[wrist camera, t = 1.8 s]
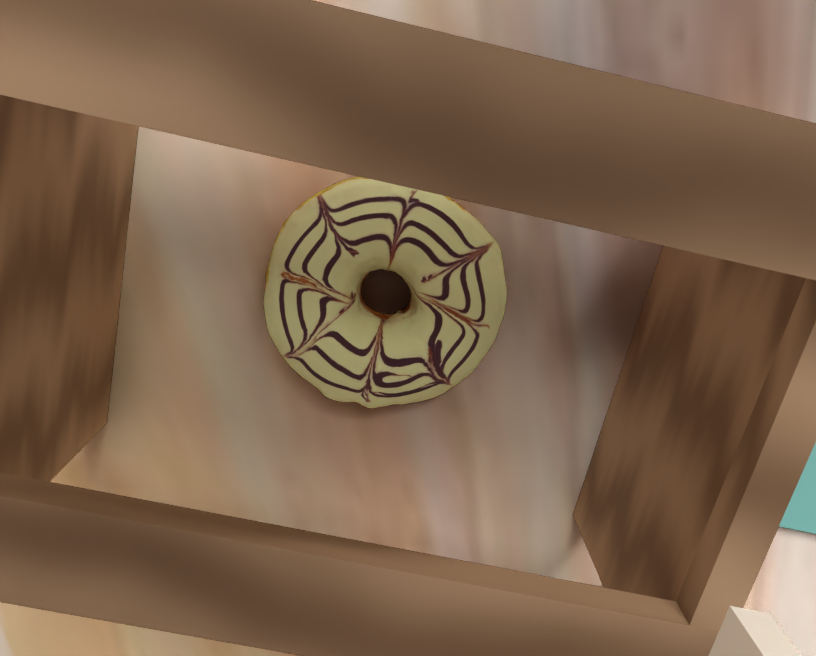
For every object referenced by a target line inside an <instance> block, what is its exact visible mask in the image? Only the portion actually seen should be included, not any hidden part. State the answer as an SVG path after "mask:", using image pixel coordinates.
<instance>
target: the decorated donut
mask: <svg viewBox="0 0 816 656" xmlns="http://www.w3.org/2000/svg"><path fill="white" fill-rule="evenodd" d="M378 269H383V270H387V271H388V270H390V271H394V272H396V273H397V274H399V275H400V276H401V277H403V279H404V280H405V282H406V283H407V284H408V286H409V288H410V291H411V295H412V296H411V302H410V304H409V305H408V306H407V307H405V309H404V310H403V311H402V310H398V311H397V312H396V314H383V313H382V314H381V313H380V312H376V311H374V310H372V309H371V308H369V307H367V306H366V304H365V303H364V302H363V301H362V297H361V287H362V283H363V281H364V280H365V278H366V276H367V275H369V273H370V272H371V271H373V270H378ZM506 300H507V288H506V282H505V275H504V266H503V262H502V254H501V250H500V247H499V245H498V243H497V242H496V241H495V240H494V239H493V237H492V236H491V235H490V234H489V233H488V232H487V231H486V229H485V228H484V227H483V225H482V224H481V223H480V222H479V221H478V220H477V219H476V218H475V217H473V216H472V215H471V214H470V213H469V212H467V211H466V210H465V209H464V208H463V207H462V206H460V205H459V204H458V203H456V202H455V201H454V200H452V199H451V198H449V197H448V196H443V195H439V194H434V193H430V192H426V191H421V190H417V189H412V188H408V187H404V186H399V185H395V184H390V183H386V182H382V181H377V180H373V179H368V178H364V177H353V178H349V179H346V180H343V181H341V182H339V183H335V184H334V185H332V186H330V187H327V188H326V189H324V190H322V191H320V192H318V193H317V194H315V195H314V196H312V197H311V198H309V199H308V200H307V201H305V202H304V203H302V204H301V205H300V206H299V207H298V208H297V209H296V210H295V211H294V212H293V213H292V214H291V215H290V217H289V218H287V220H286V221H285V222H284V224H283V226H282V229H281V230H280V232H279V233H278V235H277V238H276V240H275V243H274V245H273V248H272V251H271V256H270V259H269V265H268V267H267V271H266V289H265V293H264V312H265V320H266V325H267V329H268V332H269V334H270V336H271V338H272V340H273V342H274V344H275V345H276V347H277V348H278V350H279V352H280V354H281V356H282V357H283V358H284V359H285V360H286V362H287V363H288V364H289V365H290V367H291V368H293V369H294V370H295V371H296V372H297V373H298V374H299V375H300V376H302V377H303V378H304V379H305V380H307V381H309V382H310V383H311V384H312V385H314V386H315V387H317V388H318V389H319V390H320V391H321V392H322V394H323V395H324V396H325V397H327V398H330V399H332V400H336V401H340V402H358V403H359V404H361V405H363V406H365V407H366V408H376V407H383V406H388V405H392V404H408V403H415V402H419V401H423V400H428V399H432V398H434V397H436V396H438V395H441V394H443V393H445V392H446V391H448V390H449V389H450V388H452V387H453V386H455V385H457V384H458V383H459V382H460V381H462V380H463V379H464V378H465V377H467V376H468V375H469V374H471V373H472V372H473V371H474V370H475V369H476V367H477V365H478V364H479V363H480V362H481V361H482V359H483V358H484V356H485V355H486V354H487V352H488V351H489V349H490V347H491V345H492V343H493V342H494V341H495V339H496V336H497V333H498V330H499V328H500V325H501V322H502V319H503V317H504V312H505V306H506Z"/></svg>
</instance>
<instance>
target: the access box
mask: <svg viewBox="0 0 816 656" xmlns="http://www.w3.org/2000/svg"><path fill="white" fill-rule="evenodd" d="M138 126H140V127H144V128H149V129H153V130H158V131H162V132H166V133H171V134H175V135H180V136H184V137H188V138H193V139H197V140H202V141H206V142H210V143H215V144H219V145H224V146H228V147H232V148H237V149H241V150H245V151H250V152H254V153H259V154H263V155H267V156H272V157H276V158H281V159H285V160H289V161H294V162H298V163H303V164H307V165H311V166H316V167H320V168H325V169H329V170H333V171H338V172H342V173H347V174H351V175H355V176H360V177H364V178H368V179H373V180H377V181H382V182H386V183H390V184H395V185H399V186H404V187H408V188H412V189H417V190H421V191H426V192H430V193H434V194H439V195H443V196H448V197H452V198H456V199H461V200H465V201H470V202H474V203H478V204H483V205H487V206H491V207H496V208H500V209H505V210H509V211H513V212H518V213H522V214H527V215H531V216H535V217H540V218H544V219H549V220H553V221H557V222H562V223H566V224H571V225H575V226H579V227H584V228H588V229H593V230H597V231H601V232H606V233H610V234H614V235H619V236H623V237H628V238H632V239H636V240H641V241H645V242H650V243H654V244H658V245H663V248H662V251H661V254H660V257H659V260H658V263H657V266H656V269H655V272H654V275H653V278H652V281H651V284H650V287H649V290H648V293H647V296H646V299H645V302H644V305H643V308H642V311H641V314H640V317H639V320H638V323H637V326H636V329H635V332H634V335H633V338H632V341H631V343H630V346H629V349H628V352H627V355H626V358H625V361H624V364H623V367H622V370H621V373H620V376H619V379H618V382H617V385H616V388H615V391H614V394H613V397H612V400H611V403H610V406H609V409H608V412H607V415H606V418H605V421H604V424H603V427H602V430H601V433H600V436H599V439H598V442H597V445H596V448H595V451H594V454H593V457H592V460H591V463H590V466H589V468H588V471H587V474H586V477H585V480H584V483H583V486H582V489H581V492H580V495H579V498H578V501H577V504H576V507H575V510H574V513H573V516H574V518H575V521H576V523H577V525H578V528H579V530H580V533H581V535H582V537H583V540H584V542H585V544H586V547H587V549H588V551H589V554H590V556H591V559H592V561H593V563H594V566H595V568H596V570H597V573H598V575H599V578H600V580H601V582H602V585H603V587H604V588H603V587H598V586H593V585H587V584H582V583H577V582H572V581H566V580H561V579H556V578H551V577H545V576H540V575H535V574H530V573H524V572H519V571H514V570H509V569H503V568H498V567H493V566H488V565H482V564H477V563H472V562H467V561H462V560H456V559H451V558H446V557H441V556H435V555H430V554H425V553H420V552H414V551H409V550H404V549H399V548H393V547H388V546H383V545H378V544H372V543H367V542H362V541H357V540H351V539H346V538H341V537H336V536H330V535H325V534H320V533H315V532H309V531H304V530H299V529H294V528H288V527H283V526H278V525H273V524H267V523H262V522H257V521H252V520H246V519H241V518H236V517H231V516H225V515H220V514H215V513H210V512H205V511H199V510H194V509H189V508H184V507H178V506H173V505H168V504H163V503H157V502H152V501H147V500H142V499H136V498H131V497H126V496H121V495H115V494H110V493H105V492H100V491H94V490H89V489H84V488H79V487H73V486H68V485H63V484H58V483H52V482H50V481H51V480H52V479H53V478H54V477H55V476H56V475H57V474H58V473H59V472H60V471H61V469H62V468H63V467H64V466H65V465H66V464H67V463H68V462H69V461H70V460H71V459H72V458H73V457H74V456H75V455H76V454H77V453H78V452H79V451H80V450H81V449H82V448H83V447H84V446H85V445H86V444H87V443H88V442H89V441H90V440H91V439H92V438H93V436H94V435H95V434H96V433H97V432H98V431H99V430H100V429H101V428H102V427H103V426H104V425H105V424H106V423H107V418H108V408H109V399H110V389H111V380H112V370H113V361H114V351H115V342H116V333H117V323H118V314H119V304H120V295H121V285H122V276H123V266H124V257H125V247H126V238H127V228H128V219H129V210H130V200H131V191H132V181H133V172H134V162H135V153H136V143H137V134H138ZM815 443H816V123H811V122H807V121H803V120H799V119H795V118H791V117H787V116H783V115H779V114H775V113H770V112H766V111H762V110H758V109H754V108H750V107H746V106H742V105H738V104H734V103H730V102H725V101H721V100H717V99H713V98H709V97H705V96H701V95H697V94H693V93H689V92H685V91H680V90H676V89H672V88H668V87H664V86H660V85H656V84H652V83H648V82H644V81H640V80H635V79H631V78H627V77H623V76H619V75H615V74H611V73H607V72H603V71H599V70H594V69H590V68H586V67H582V66H578V65H574V64H570V63H566V62H562V61H558V60H554V59H549V58H545V57H541V56H537V55H533V54H529V53H525V52H521V51H517V50H513V49H509V48H504V47H500V46H496V45H492V44H488V43H484V42H480V41H476V40H472V39H468V38H464V37H459V36H455V35H451V34H447V33H443V32H439V31H435V30H431V29H427V28H423V27H418V26H414V25H410V24H406V23H402V22H398V21H394V20H390V19H386V18H382V17H378V16H373V15H369V14H365V13H361V12H357V11H353V10H349V9H345V8H341V7H337V6H333V5H328V4H324V3H320V2H316V1H312V0H0V602H3V603H8V604H14V605H19V606H25V607H31V608H36V609H42V610H48V611H53V612H59V613H64V614H70V615H76V616H81V617H87V618H93V619H98V620H104V621H109V622H115V623H121V624H126V625H132V626H137V627H143V628H149V629H154V630H160V631H166V632H171V633H177V634H182V635H188V636H194V637H199V638H205V639H211V640H216V641H222V642H227V643H233V644H239V645H244V646H250V647H255V648H261V649H267V650H272V651H278V652H284V653H289V654H295V655H300V656H709V654H710V651H711V649H712V646H713V644H714V642H715V639H716V637H717V635H718V632H719V630H720V628H721V625H722V623H723V621H724V618H725V616H726V614H727V611H728V609H729V606H734V607H739V608H743V607H744V605H745V602H746V600H747V598H748V596H749V593H750V591H751V589H752V586H753V584H754V582H755V580H756V577H757V575H758V573H759V570H760V568H761V566H762V564H763V561H764V559H765V557H766V554H767V552H768V550H769V548H770V545H771V543H772V541H773V538H774V536H775V534H776V532H777V529H778V527H779V525H780V522H781V520H782V518H783V516H784V513H785V511H786V509H787V506H788V504H789V502H790V500H791V497H792V495H793V493H794V491H795V488H796V486H797V484H798V481H799V479H800V477H801V475H802V472H803V470H804V468H805V465H806V463H807V461H808V459H809V456H810V454H811V452H812V449H813V447H814V445H815Z"/></svg>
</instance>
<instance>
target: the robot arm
mask: <svg viewBox="0 0 816 656" xmlns="http://www.w3.org/2000/svg"><path fill="white" fill-rule="evenodd" d="M709 656H802V655H801V653H800V652H799V651H798V649H797V648H796V647H795V645H794V644H793V643H792V641H791V640H790V639H789V637H788V636H787V635H786V633H785V632H784V630H783V629H782V628H781V626H780V625H779V624H778V622H777V621H776V620H775V618H774V617H773V616H772V614H771V613H766V612H760V611H755V610H750V609H744V608H739V607H734V606H729V609H728V611H727V614H726V616H725V618H724V621H723V623H722V625H721V628H720V630H719V632H718V635H717V637H716V639H715V642H714V644H713V646H712V649H711V651H710V654H709Z"/></svg>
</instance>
